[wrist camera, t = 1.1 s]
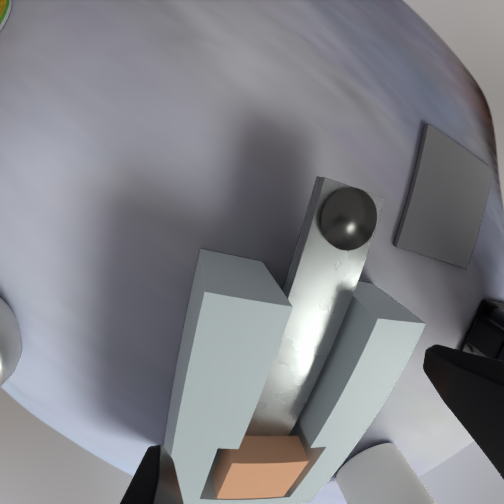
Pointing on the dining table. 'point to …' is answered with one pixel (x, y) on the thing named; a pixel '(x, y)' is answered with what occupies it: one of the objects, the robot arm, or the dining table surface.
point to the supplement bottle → (4, 11)
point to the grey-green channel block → (258, 367)
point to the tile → (259, 467)
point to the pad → (444, 201)
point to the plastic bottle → (8, 342)
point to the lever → (316, 298)
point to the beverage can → (381, 478)
